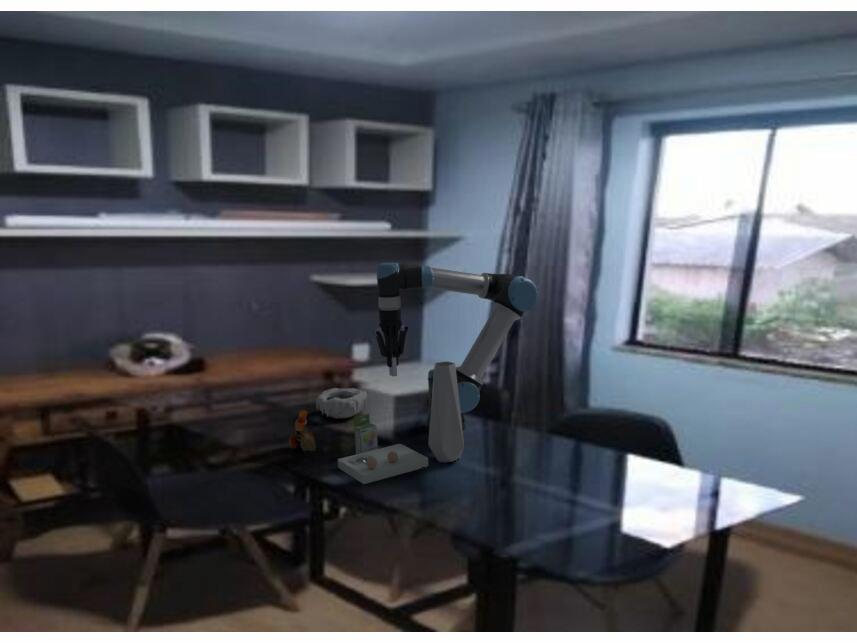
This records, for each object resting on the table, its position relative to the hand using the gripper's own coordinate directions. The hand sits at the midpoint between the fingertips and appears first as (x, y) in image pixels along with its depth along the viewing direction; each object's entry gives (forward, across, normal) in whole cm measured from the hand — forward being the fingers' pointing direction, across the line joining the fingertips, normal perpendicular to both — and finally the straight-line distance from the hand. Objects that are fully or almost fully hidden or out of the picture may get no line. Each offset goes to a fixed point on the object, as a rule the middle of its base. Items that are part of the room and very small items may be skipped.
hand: (393, 375), depth 270 cm
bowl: (+27, -2, -47) cm, 54 cm away
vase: (+27, -8, +21) cm, 35 cm away
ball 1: (+22, +20, +18) cm, 35 cm away
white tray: (+26, +13, +13) cm, 32 cm away
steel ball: (+25, +19, +10) cm, 33 cm away
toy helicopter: (+27, +27, -17) cm, 42 cm away
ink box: (+27, +11, -2) cm, 29 cm away
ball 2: (+22, +12, +18) cm, 31 cm away
